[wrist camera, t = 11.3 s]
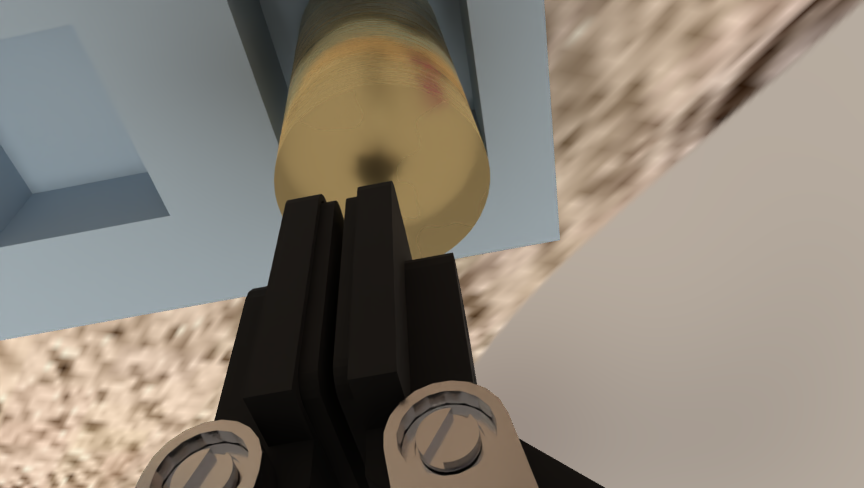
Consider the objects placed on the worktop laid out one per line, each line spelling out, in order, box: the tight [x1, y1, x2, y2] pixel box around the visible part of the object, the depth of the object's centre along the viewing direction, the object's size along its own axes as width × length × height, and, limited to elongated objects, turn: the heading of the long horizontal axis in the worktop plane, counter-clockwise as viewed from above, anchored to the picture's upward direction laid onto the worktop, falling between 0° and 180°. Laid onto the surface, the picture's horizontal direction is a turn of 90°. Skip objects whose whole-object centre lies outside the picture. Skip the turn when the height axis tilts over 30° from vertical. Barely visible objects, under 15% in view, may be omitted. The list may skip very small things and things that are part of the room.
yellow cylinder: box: [274, 0, 490, 260], centre depth 15 cm, size 4×4×8 cm
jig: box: [0, 0, 560, 340], centre depth 18 cm, size 12×18×4 cm, turn 100°
